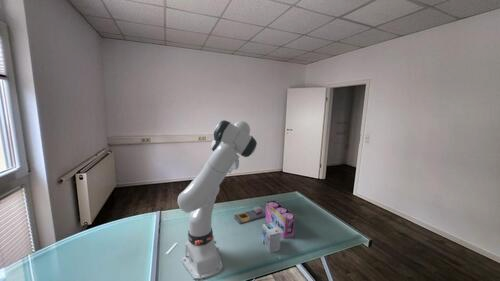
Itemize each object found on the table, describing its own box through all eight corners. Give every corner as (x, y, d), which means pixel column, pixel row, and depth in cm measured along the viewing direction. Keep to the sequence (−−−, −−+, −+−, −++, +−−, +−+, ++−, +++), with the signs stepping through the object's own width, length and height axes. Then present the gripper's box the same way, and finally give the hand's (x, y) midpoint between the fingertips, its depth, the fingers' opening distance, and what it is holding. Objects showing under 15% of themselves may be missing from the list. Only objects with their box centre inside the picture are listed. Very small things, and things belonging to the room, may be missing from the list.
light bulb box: (261, 241, 114) (261, 223, 113) (271, 238, 116) (272, 222, 115) (269, 253, 104) (270, 234, 103) (280, 250, 106) (281, 232, 105)
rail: (266, 216, 141) (266, 212, 141) (239, 224, 130) (239, 220, 130) (260, 212, 148) (260, 208, 148) (234, 219, 137) (234, 214, 137)
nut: (261, 215, 141) (261, 208, 141) (256, 217, 139) (256, 209, 139) (258, 213, 145) (258, 205, 144) (253, 214, 143) (253, 207, 142)
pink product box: (295, 236, 119) (297, 216, 117) (285, 240, 116) (286, 218, 114) (274, 218, 140) (275, 200, 138) (264, 220, 137) (265, 202, 135)
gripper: (213, 150, 144) (210, 167, 147) (237, 158, 137) (234, 176, 140) (217, 148, 150) (215, 165, 153) (241, 156, 143) (237, 174, 146)
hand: (224, 170), depth 146 cm, fingers open, 8 cm apart
